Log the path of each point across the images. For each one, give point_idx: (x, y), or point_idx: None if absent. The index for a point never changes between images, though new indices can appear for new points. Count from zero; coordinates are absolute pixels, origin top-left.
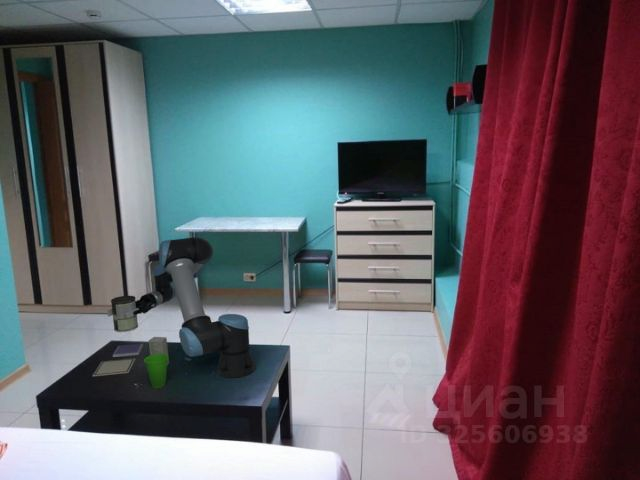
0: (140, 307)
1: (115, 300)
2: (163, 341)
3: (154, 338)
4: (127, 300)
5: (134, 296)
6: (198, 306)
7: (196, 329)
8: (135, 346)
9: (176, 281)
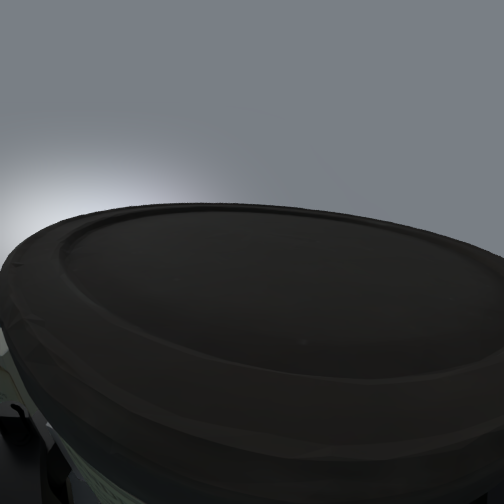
0: (2, 412)
1: (362, 227)
2: None
3: (2, 343)
4: (155, 217)
5: (16, 320)
6: None
7: None
8: None
9: None
